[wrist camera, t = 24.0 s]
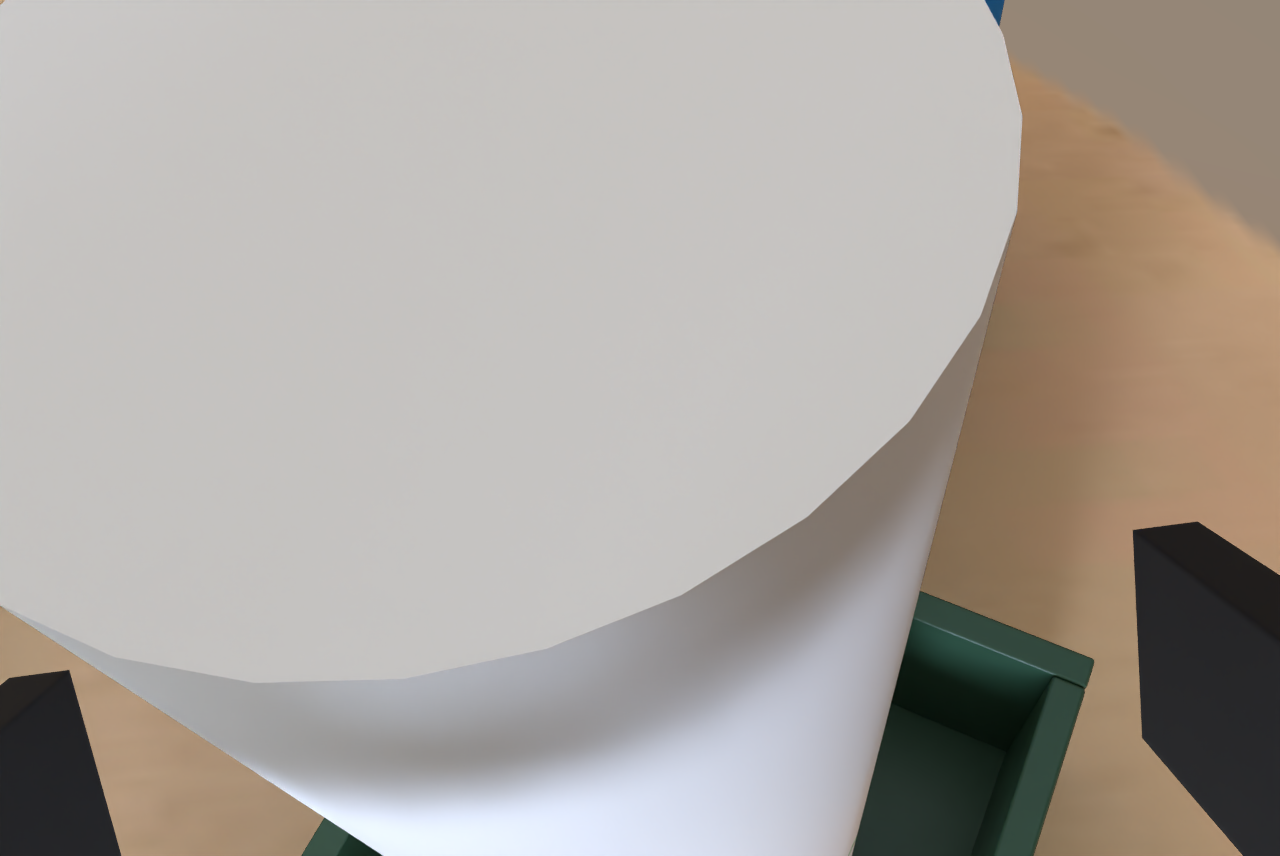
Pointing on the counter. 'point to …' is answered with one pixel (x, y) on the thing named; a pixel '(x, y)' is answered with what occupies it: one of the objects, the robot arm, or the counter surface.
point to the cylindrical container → (500, 392)
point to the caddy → (948, 742)
